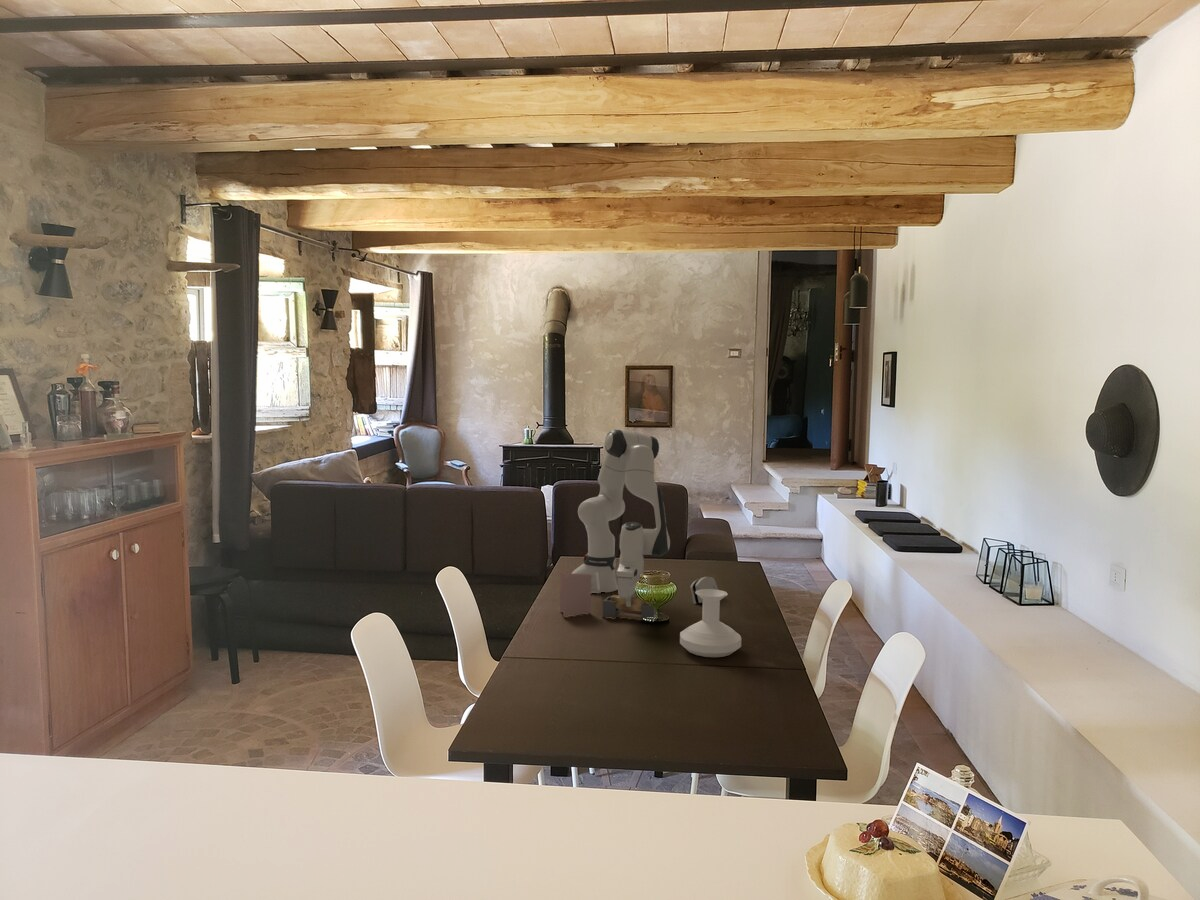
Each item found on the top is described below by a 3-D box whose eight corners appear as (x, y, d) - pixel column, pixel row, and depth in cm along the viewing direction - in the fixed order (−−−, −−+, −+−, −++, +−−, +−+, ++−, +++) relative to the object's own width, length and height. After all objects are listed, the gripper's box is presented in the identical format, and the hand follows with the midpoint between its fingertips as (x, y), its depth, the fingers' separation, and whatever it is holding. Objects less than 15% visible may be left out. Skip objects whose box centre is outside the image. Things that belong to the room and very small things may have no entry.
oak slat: (610, 607, 303) (610, 597, 302) (613, 605, 306) (613, 594, 305) (648, 612, 297) (648, 601, 296) (651, 610, 300) (651, 599, 299)
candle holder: (735, 665, 253) (737, 604, 252) (672, 657, 260) (673, 597, 258) (745, 645, 272) (747, 588, 270) (686, 638, 279) (688, 583, 277)
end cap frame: (602, 617, 301) (603, 600, 301) (608, 613, 308) (608, 596, 307) (653, 623, 295) (653, 605, 295) (658, 618, 302) (658, 601, 301)
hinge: (704, 605, 319) (697, 580, 320) (694, 608, 322) (687, 583, 323) (723, 596, 333) (716, 572, 334) (713, 598, 335) (706, 574, 336)
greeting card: (590, 613, 307) (591, 573, 306) (588, 618, 300) (588, 578, 299) (560, 611, 308) (560, 572, 307) (557, 617, 301) (557, 577, 300)
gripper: (631, 560, 311) (630, 596, 312) (614, 572, 291) (614, 610, 293) (647, 562, 309) (646, 598, 310) (632, 574, 289) (631, 612, 291)
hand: (630, 604), depth 301 cm, fingers closed on oak slat, 4 cm apart
